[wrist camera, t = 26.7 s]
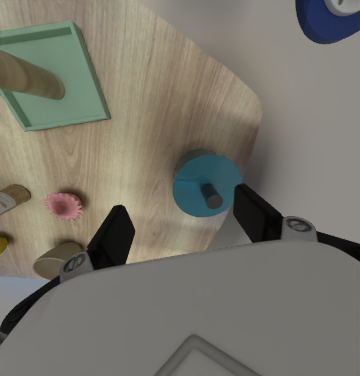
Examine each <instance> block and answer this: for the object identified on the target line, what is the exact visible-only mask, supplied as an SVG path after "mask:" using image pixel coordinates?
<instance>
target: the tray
mask: <svg viewBox="0 0 360 376" xmlns="http://www.w3.org/2000/svg"><path fill="white" fill-rule="evenodd" d="M0 50H2V51H5V52H7V53H9V54H11V55H14V56H16V57H18V58H21V59H23V60H25V61H27V62H30V63H32V64H34V65H37V66H39V67H41V68H44V69H46V70H48V71H50V72H53V73H54V74H56V75H57V76H58V77H59V78H60V79H61V81H62V82H63V84H64V87H65V95H64V97H63V98H62V99H60V100H53V99H48V98H44V97H39V96H34V95H29V94H24V93H19V92H14V91H9V90H4V89H0V95H1V96H2V98H3V99H4V101H5V102H6V104H7V105H8V107H9V108H10V110H11V112H12V113H13V115H14V116H15V118H16V119H17V121H18V122H19V124H20V125H21V127H22V129H23V130H24V131H25V132H27V131H38V130H44V129H50V128H56V127H62V126H68V125H75V124H81V123H87V122H93V121H99V120H105V119H111V117H110V114H109V111H108V108H107V106H106V103H105V100H104V97H103V94H102V91H101V88H100V85H99V82H98V79H97V77H96V74H95V71H94V68H93V65H92V62H91V59H90V56H89V53H88V51H87V48H86V45H85V42H84V39H83V36H82V33H81V30H80V29H79V28H78V26H77V25H76V24H75V23H74V22H73V21H72V20H69V21H63V22H57V23H51V24H44V25H38V26H31V27H25V28H19V29H12V30H6V31H0Z"/></svg>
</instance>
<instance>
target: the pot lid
mask: <svg viewBox="0 0 360 376" xmlns="http://www.w3.org/2000/svg"><path fill="white" fill-rule="evenodd" d="M238 184H242V179H241V174H240V171H239V169H238V168H237V166H236V165H235V164H234V163H233V162H232V161H231V160H229V159H228V158H226V157H223V156H220V155H215V154H208V155H202V156H199V157H196V158H194V159H192V160H190V161H189V162H187V163H186V164H185V165H184V166H183V167H182V168H181V169H180V170H179V172H178V173H177V175H176V177H175V179H174V183H173V196H174V200H175V202H176V204H177V205H178V207H179V208H180V209H181V210H182V211H184V212H185V213H187V214H189V215H192V216H195V217H210V216H214V215H217V214H219V213H221V212H223V211H225V210H226V209H228V208H229V207H230V206H231V205H232V204H233V203H234V188H235V187H236V186H237V185H238Z"/></svg>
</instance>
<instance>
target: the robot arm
mask: <svg viewBox="0 0 360 376" xmlns="http://www.w3.org/2000/svg"><path fill="white" fill-rule="evenodd" d="M324 2H325V5H326V6H327V8H328V10H329V11H330V12H331V13H333V14H334V15H337V16H349V15H352V14H354V13H356V12H358V11H360V0H324ZM233 208H234V209H233V214H234V216H235V218H236V219H237V221H238V222H239V224H240V225H241V227H242V228H243V230H244V231H245V233H246V234H247V235H248V237H249V238H250V240H251V241H252V243H251V244H244V245H238V246H231V247H225V248H219V249H213V250H207V251H201V252H195V253H189V254H183V255H177V256H171V257H165V258H159V259H153V260H148V261H142V262H136V263H130V264H126V261H127V257H128V254H129V251H130V248H131V244H132V241H133V238H134V235H135V228H134V226H133V224H132V221H131V219H130V217H129V215H128V212H127V210H126V208H125V206H123V205H116V206H114V207H113V208H112V210H111V211H110V213H109V214H108V216H107V217H106V219H105V220H104V222H103V223H102V225H101V226H100V228H99V229H98V231H97V232H96V234H95V235H94V237H93V238H92V240H91V241H90V243H89V244H88V246H87V248H88V249H87V251H86V252H85V251H81V252H78V253H76V254H74V255H72V256H71V257H69V258H68V259H67V260H66V261H65V262H64V263H63V264H62V266H61V268H60V271H59V274H60V275H58V276H57V277H55V278H54V279H53V280H51V281H50V282H48V283H47V284H45V285H44V286H43V287H41V288H40V289H39V290H37V291H35V292H34V293H33V294H31V295H30V296H28V297H27V298H26V299H24V300H23V301H21V302H20V303H19V304H18V305H16V306H15V307H14V308H13V309H12V310H11V311H10V312H9V313H8V315H7V316H6V317H5V319H4V320H3V322H2V324H1V327H0V376H360V244H358V243H355V242H351V241H348V240H345V239H341V238H338V237H335V236H331V235H328V234H325V233H321V232H318V231H316V229H315V227H314V225H313V224H312V223H310V222H309V221H307V220H305V219H303V218H299V217H295V216H288V217H285V218H284V217H283V216H282V215H281V213H280V212H278V211H277V210H276V209H275V208H274V207H272V206H271V205H270V204H269V203H268V202H266V201H265V200H264V199H263V198H262V197H260V196H259V195H258V194H257V193H256V192H254V191H253V190H252V189H250V188H249V187H248V186H247V185H246V184H238V185H237V186H236V187H235V188H234V206H233Z"/></svg>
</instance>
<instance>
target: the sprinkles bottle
mask: <svg viewBox="0 0 360 376" xmlns="http://www.w3.org/2000/svg"><path fill="white" fill-rule="evenodd" d="M29 199H30V194H29V192H28V191H27V190H26V189H25V188H23V187H21V186H18V185H10V186H8V187H7V188H4V189H2V190H0V215H2V214H4V213H6V212H8V211H9V210H11V209H13V208H14V207H16V206H17V205H19V204H21V203H23V202H26V201H28V200H29Z"/></svg>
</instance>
